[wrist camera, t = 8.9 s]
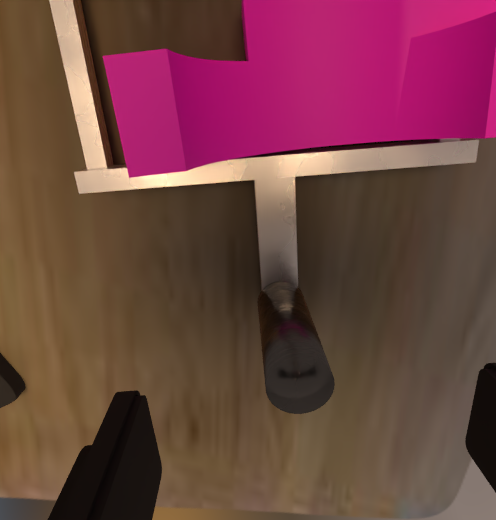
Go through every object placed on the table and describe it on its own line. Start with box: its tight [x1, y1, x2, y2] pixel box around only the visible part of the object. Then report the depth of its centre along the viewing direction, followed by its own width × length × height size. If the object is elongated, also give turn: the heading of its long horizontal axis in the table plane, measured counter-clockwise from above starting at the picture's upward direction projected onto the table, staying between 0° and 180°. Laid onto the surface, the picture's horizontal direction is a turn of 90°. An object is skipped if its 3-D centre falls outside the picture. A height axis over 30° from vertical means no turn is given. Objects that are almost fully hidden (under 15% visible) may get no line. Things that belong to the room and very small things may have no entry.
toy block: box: [103, 0, 496, 178], centre depth 15 cm, size 15×6×8 cm, turn 96°
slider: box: [49, 0, 479, 414], centre depth 15 cm, size 18×19×8 cm
